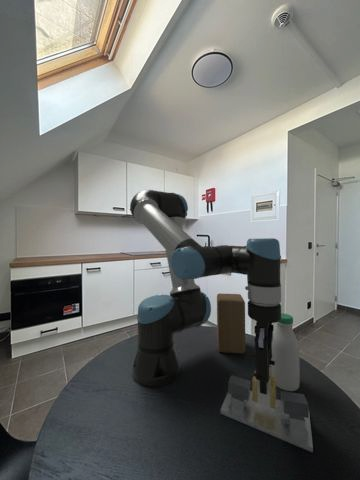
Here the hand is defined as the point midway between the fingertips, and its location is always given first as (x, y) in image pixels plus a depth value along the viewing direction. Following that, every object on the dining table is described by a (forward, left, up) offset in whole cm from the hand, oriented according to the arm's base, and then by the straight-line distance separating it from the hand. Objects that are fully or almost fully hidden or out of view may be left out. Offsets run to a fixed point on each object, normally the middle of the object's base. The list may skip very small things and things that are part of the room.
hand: (265, 397), depth 49 cm
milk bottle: (+4, +14, -4) cm, 16 cm away
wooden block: (-16, +26, -5) cm, 31 cm away
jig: (0, 0, -4) cm, 4 cm away
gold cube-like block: (0, 0, -1) cm, 1 cm away
